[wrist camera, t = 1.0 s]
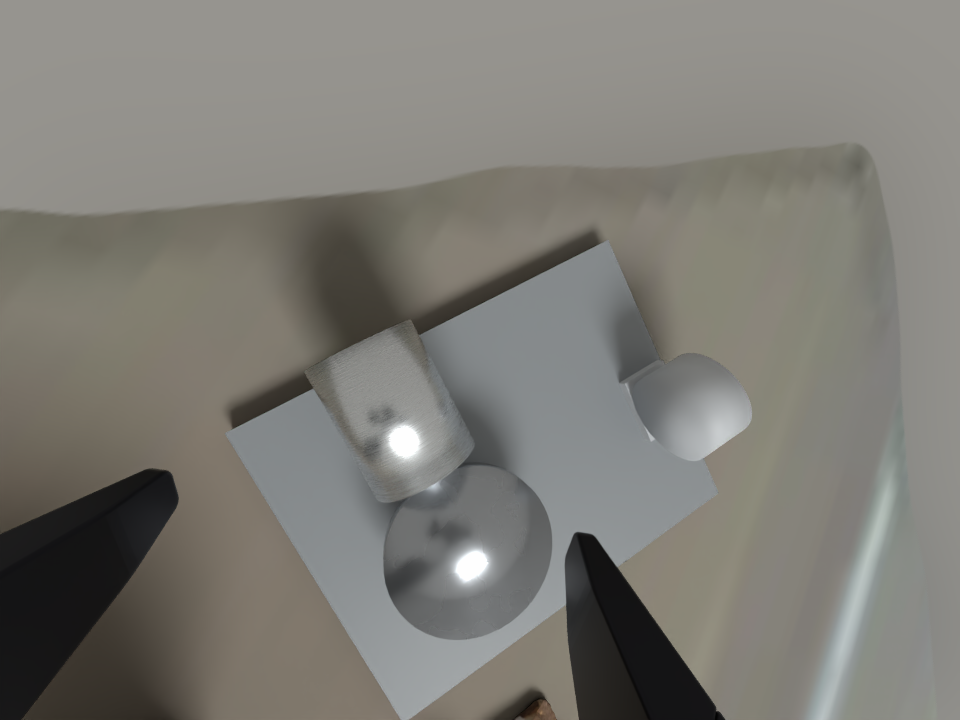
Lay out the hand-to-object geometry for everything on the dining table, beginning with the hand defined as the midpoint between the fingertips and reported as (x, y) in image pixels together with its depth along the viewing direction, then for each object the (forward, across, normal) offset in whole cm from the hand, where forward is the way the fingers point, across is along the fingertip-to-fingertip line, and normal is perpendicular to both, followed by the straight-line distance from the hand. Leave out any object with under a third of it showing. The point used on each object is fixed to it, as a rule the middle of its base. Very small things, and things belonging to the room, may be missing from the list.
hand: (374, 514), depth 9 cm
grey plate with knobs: (+12, -4, +8) cm, 15 cm away
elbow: (+9, 0, +8) cm, 12 cm away
